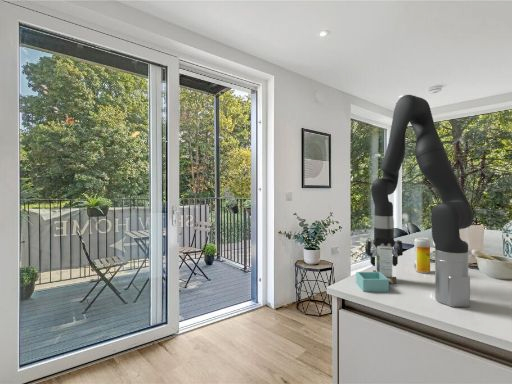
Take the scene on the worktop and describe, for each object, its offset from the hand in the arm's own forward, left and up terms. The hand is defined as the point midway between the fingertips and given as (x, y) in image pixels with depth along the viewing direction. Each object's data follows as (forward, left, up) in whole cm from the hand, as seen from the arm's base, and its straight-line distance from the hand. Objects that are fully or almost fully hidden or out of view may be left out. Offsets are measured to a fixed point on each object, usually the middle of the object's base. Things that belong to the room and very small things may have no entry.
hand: (383, 265), depth 120 cm
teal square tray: (-9, +8, -6) cm, 13 cm away
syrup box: (0, 0, -6) cm, 6 cm away
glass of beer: (+10, -21, -6) cm, 24 cm away
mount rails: (-2, 0, -6) cm, 6 cm away
